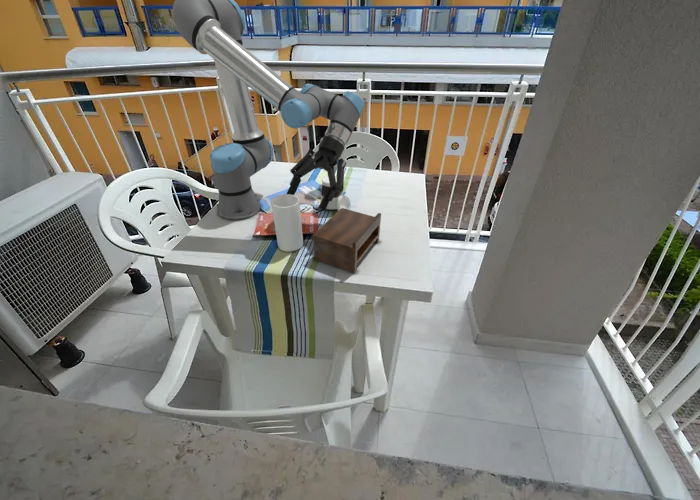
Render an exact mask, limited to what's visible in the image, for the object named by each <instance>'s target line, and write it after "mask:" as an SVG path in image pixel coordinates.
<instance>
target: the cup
mask: <svg viewBox="0 0 700 500" xmlns="http://www.w3.org/2000/svg"><path fill="white" fill-rule="evenodd" d="M270 203H271V204H270V205H271V210H272V211H271V212H272V217H273V223H274V229H275V235H276V241H277V247H278V249H279V250H281V251H284V252H287V253H288V252H296V251H298V250H300V249H301V248H302V247H303V245H304V235H303V226H302V216H301V204H300V203H301V202H300V199H299V197H298V196H297V195H296V194H294V195H291V194H287V193H284V194H278V195H276V196H274V197H273V198H271V200H270Z"/></svg>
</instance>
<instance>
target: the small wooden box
mask: <svg viewBox="0 0 700 500" xmlns="http://www.w3.org/2000/svg"><path fill="white" fill-rule="evenodd" d="M381 220H382V213H381V212H377V214H376V215H375V216H373V215H370V214H367V213H363V212H359V211H355V210H351V209H350V210H348V209H344V208H341V209H340V210H339V211H336V213H335V214H333V216H331V217H330V218H329V219H328V220H327V221H325V223H324V224H323V225H322V226H320V227H319V228H318V229H317V230H316V232H314V233H313V234H312V245H313V246H312V247H313V257H314V258H313V259H314V260H316V261H319V262H322V263H325V264H327V265H331V266H332V267H333V266H334V267H336V268H339V269H342V270H345V271H347V272H351V273H353V274H356V273H357V270H358V269H357V268H358V267H357V266H358V263H359V262H360V261H361V260H362V259H363V257H364V256H365V255H366V253H367V252H368V251H369V250H370V248H371V247H372V246H373V244H374V243H375V244H378V243H379V242H380V234H381Z"/></svg>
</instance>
